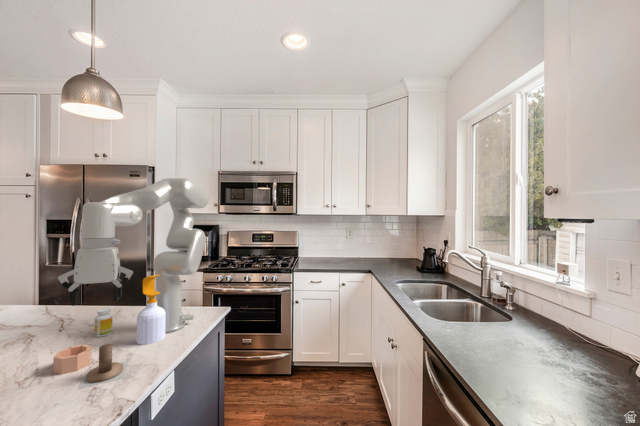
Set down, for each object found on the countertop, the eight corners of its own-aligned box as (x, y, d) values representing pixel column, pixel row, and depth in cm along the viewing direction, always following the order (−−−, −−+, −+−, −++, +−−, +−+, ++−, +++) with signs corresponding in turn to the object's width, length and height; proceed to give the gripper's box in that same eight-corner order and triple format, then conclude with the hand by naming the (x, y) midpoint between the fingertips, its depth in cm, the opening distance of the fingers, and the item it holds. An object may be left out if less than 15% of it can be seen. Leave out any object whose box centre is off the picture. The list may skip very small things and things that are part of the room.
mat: (127, 362, 84) (127, 360, 84) (124, 379, 76) (124, 377, 76) (86, 372, 79) (86, 370, 79) (78, 391, 70) (78, 389, 70)
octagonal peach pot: (92, 358, 87) (93, 342, 87) (87, 370, 80) (87, 353, 80) (59, 365, 82) (59, 348, 83) (50, 378, 76) (50, 361, 76)
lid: (124, 362, 83) (125, 337, 83) (121, 376, 76) (121, 349, 76) (89, 370, 79) (90, 343, 79) (82, 386, 72) (83, 356, 72)
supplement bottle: (90, 337, 101) (91, 312, 101) (101, 331, 106) (101, 307, 106) (105, 337, 101) (106, 312, 101) (115, 331, 107) (115, 307, 107)
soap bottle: (144, 348, 93) (145, 278, 93) (131, 341, 98) (133, 275, 98) (169, 338, 101) (171, 274, 101) (157, 332, 106) (158, 271, 106)
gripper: (136, 242, 86) (134, 295, 85) (65, 243, 78) (63, 302, 78) (131, 244, 79) (129, 302, 79) (53, 246, 71) (51, 310, 71)
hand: (96, 301), depth 78 cm, fingers open, 9 cm apart
